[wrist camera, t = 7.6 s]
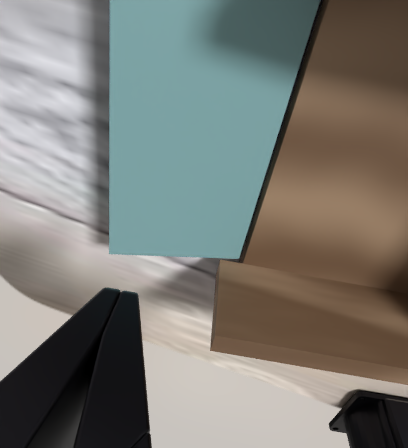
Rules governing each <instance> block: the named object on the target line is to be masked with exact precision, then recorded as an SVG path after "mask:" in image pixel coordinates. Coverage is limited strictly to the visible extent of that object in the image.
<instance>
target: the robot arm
mask: <svg viewBox="0 0 408 448" xmlns="http://www.w3.org/2000/svg"><path fill="white" fill-rule="evenodd" d="M148 414H149V413H148V402H147V390H146V380H145V367H144V357H143V344H142V333H141V321H140V309H139V298H138V294H137V293H135V292H129V291H122V292H121V291H120V290H118V289H113V288H103V289H102V290H101V291H100V292H99V293H97V294H96V295H95V296H94V297H93V298H92V299H91V300H90V301H89V302H88V303H86V304H85V305H84V306H83V307H82V308H81V309H80V310H79V311H78V312H77V313H75V314H74V315H73V316H72V317H71V318H70V319H69V320H68V321H67V322H65V323H64V324H63V325H62V326H61V327H60V328H59V329H58V330H57V331H56V332H54V333H53V334H52V335H51V336H50V337H49V338H48V339H47V340H46V341H45V342H43V343H42V344H41V345H40V346H39V347H38V348H37V349H36V350H35V351H33V352H32V353H31V354H30V355H29V356H28V357H27V358H26V359H25V360H24V361H23V362H21V363H20V364H19V365H18V366H17V367H16V368H15V369H14V370H13V371H11V372H10V373H9V374H8V375H7V376H6V377H5V378H4V379H3V380H1V381H0V448H152V446H151V435H150V433H149V432H150V425H149V415H148ZM329 427H330V430H332V431H337V432H342V433H347V436H348V441H349V446H350V448H408V399H405V398H399V397H393V396H387V395H381V394H376V393H370V392H364V391H360V392H357V393H355V394H354V396H353V397H352V398H351V399H350V400H349V401H348V402H347V404H346V405H345V406H344V407H343V408H342V409H341V410H340V411H339V413H338V414H337V415H336V416H335V417H334V418H333V420H332V421H331V422H330V423H329Z"/></svg>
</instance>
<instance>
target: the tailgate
mask: <svg viewBox="0 0 408 448" xmlns="http://www.w3.org/2000/svg"><path fill="white" fill-rule="evenodd" d="M319 2H320V0H110V81H109V254H122V255H149V256H176V257H203V258H230V259H239V257H240V254H241V251H242V247H243V244H244V241H245V238H246V235H247V232H248V228H249V225H250V222H251V219H252V216H253V212H254V209H255V206H256V203H257V200H258V197H259V193H260V190H261V187H262V184H263V181H264V177H265V174H266V171H267V168H268V165H269V162H270V158H271V155H272V152H273V149H274V146H275V142H276V139H277V136H278V133H279V130H280V127H281V123H282V120H283V117H284V114H285V111H286V107H287V104H288V101H289V98H290V95H291V92H292V88H293V85H294V82H295V79H296V76H297V72H298V69H299V66H300V63H301V60H302V57H303V53H304V50H305V47H306V44H307V41H308V37H309V34H310V31H311V28H312V25H313V22H314V18H315V15H316V12H317V9H318V6H319Z"/></svg>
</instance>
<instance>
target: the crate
mask: <svg viewBox="0 0 408 448" xmlns="http://www.w3.org/2000/svg"><path fill="white" fill-rule="evenodd" d="M210 351H216V352H221V353H227V354H233V355H239V356H244V357H250V358H256V359H262V360H267V361H273V362H279V363H285V364H290V365H296V366H302V367H308V368H313V369H319V370H325V371H331V372H336V373H342V374H348V375H354V376H359V377H365V378H371V379H377V380H382V381H388V382H394V383H400V384H405V385H408V0H323V2H322V5H321V8H320V11H319V14H318V17H317V21H316V24H315V27H314V30H313V33H312V36H311V39H310V43H309V46H308V49H307V52H306V55H305V58H304V61H303V65H302V68H301V71H300V74H299V77H298V80H297V83H296V86H295V90H294V93H293V96H292V99H291V102H290V105H289V108H288V112H287V115H286V118H285V121H284V124H283V127H282V130H281V134H280V137H279V140H278V143H277V146H276V149H275V152H274V156H273V159H272V162H271V165H270V168H269V171H268V174H267V178H266V181H265V184H264V187H263V190H262V193H261V196H260V200H259V203H258V206H257V209H256V212H255V215H254V218H253V222H252V225H251V228H250V231H249V234H248V237H247V240H246V244H245V247H244V250H243V253H242V256H241V259H240V262H239V263H237V262H231V261H226V260H220V262H219V266H218V270H217V273H216V284H215V297H214V310H213V322H212V335H211V348H210Z"/></svg>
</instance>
